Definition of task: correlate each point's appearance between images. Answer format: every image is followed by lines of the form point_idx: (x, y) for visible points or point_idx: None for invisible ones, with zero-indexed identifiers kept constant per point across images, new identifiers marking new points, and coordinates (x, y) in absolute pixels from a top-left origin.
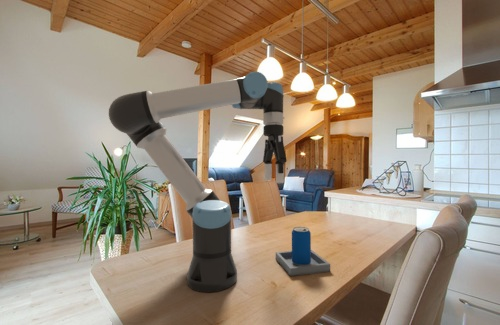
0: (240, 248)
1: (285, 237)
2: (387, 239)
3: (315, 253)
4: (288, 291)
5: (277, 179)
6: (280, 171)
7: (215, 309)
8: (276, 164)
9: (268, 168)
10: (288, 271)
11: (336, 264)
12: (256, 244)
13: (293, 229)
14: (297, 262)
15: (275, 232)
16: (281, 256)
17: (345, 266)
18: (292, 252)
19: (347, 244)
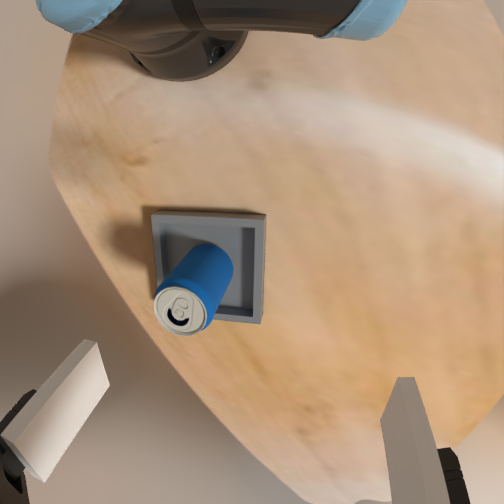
0: (387, 136)
1: (422, 316)
2: (293, 476)
3: (225, 319)
4: (107, 181)
5: (73, 360)
6: (25, 402)
7: (89, 44)
8: (1, 434)
9: (405, 491)
10: (167, 211)
11: (198, 336)
12: (405, 202)
13: (177, 287)
14: (190, 250)
15: (474, 306)
16: (227, 223)
17: (185, 345)
18: (201, 253)
19: (299, 418)
